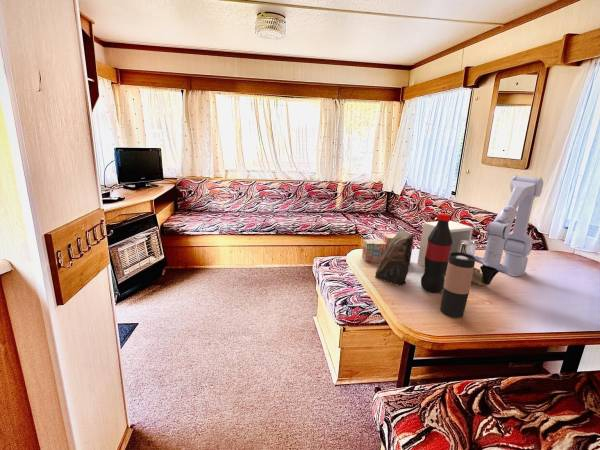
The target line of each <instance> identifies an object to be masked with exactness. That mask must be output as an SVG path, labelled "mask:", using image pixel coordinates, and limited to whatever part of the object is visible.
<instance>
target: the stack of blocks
mask: <svg viewBox="0 0 600 450" xmlns="http://www.w3.org/2000/svg"><path fill="white" fill-rule="evenodd" d="M396 234H397V233H396ZM396 234H395V233H393V234H392V233H383V235H382V239H365V238H364V239H363V243H362V244H363V245H362V255H361V257H362V259H363V261H364V262H365V263H379V262H380V260H381V258H382V256H383V254H384V252H385V250H386V249H387V246H388V244H389V242H390V241H391V240H392V239H393V237H394V236H395V235H396ZM412 241H413V242H414V238H413V240H412ZM413 247H414V244H413V245H412V247H411V254H412V252H413ZM411 257H412V256H411ZM411 257H410V259H409V260H410V261H411V259H412V258H411Z"/></svg>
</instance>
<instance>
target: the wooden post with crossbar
mask: <svg viewBox="0 0 600 450" xmlns="http://www.w3.org/2000/svg"><path fill="white" fill-rule="evenodd" d="M446 271H447V269H446ZM446 271H445V274H444V275H446ZM471 283H474V284H477V285H479V286H482V285H485V284H484V282H483V274H482V272H481V269H479V268H477V267H474V270H473V275H472V280H471Z"/></svg>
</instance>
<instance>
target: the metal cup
mask: <svg viewBox="0 0 600 450" xmlns="http://www.w3.org/2000/svg"><path fill="white" fill-rule="evenodd" d="M476 249H477V243H476V242H474V241H472V240H471V241H468V240H460V241H459V243H458V247H457V251H456V252H459V253H465V254H469V255H471V256H476Z"/></svg>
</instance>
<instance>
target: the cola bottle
mask: <svg viewBox="0 0 600 450" xmlns="http://www.w3.org/2000/svg"><path fill="white" fill-rule="evenodd" d="M437 221H438V223H437V225H436V226H435V228H434V229H433V230H432V232H431V234H430V235H429V237H428V243H427V249H426V255H425V267H424V272H423V274H422V275H421V278H420V286H421V289H423V290H424V291H426V292H428V293H432V294H438V293H440V292H443V286H444V281H445V275H446V274H445V271H446V269H447V266H448V261H449V255H450V251H451V246H452V242H453V241H452V236H451V232H450V229H449V224H448V222H450V221H451V214H448V213H444V212H442V213H441V212H439V213H438V216H437Z"/></svg>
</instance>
